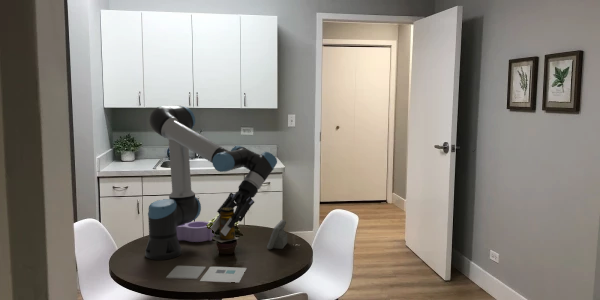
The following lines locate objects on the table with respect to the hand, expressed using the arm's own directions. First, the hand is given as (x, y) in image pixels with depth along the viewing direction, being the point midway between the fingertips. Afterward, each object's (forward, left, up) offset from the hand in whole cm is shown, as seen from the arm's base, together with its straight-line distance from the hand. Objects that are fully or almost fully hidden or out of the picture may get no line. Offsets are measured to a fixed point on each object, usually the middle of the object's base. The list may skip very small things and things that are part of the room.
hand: (217, 231), depth 182 cm
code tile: (+2, 0, -17) cm, 17 cm away
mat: (-13, 0, -17) cm, 21 cm away
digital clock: (+18, +39, -17) cm, 46 cm away
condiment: (+2, +3, -4) cm, 5 cm away
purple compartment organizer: (-24, +45, -18) cm, 54 cm away
